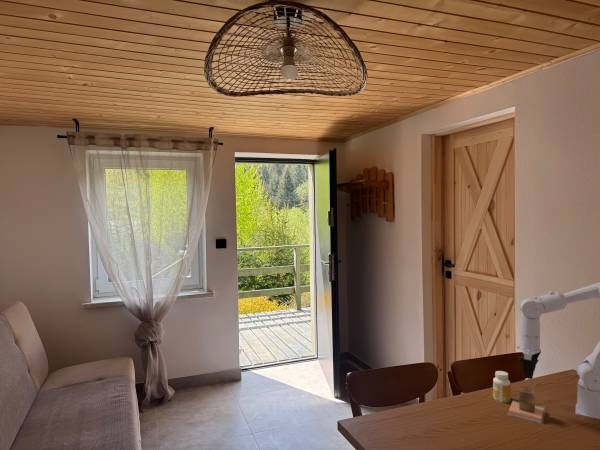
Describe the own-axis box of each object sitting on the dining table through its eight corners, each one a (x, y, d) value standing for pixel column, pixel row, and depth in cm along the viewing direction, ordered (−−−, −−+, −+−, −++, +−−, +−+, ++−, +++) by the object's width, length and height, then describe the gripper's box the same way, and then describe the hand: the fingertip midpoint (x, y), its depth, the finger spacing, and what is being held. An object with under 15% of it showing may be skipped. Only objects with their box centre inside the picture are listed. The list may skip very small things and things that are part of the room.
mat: (546, 408, 135) (546, 407, 135) (543, 426, 125) (543, 424, 125) (512, 401, 141) (512, 399, 141) (506, 416, 130) (506, 415, 130)
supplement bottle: (510, 399, 142) (511, 371, 142) (509, 405, 138) (509, 377, 138) (493, 395, 145) (494, 368, 145) (491, 401, 141) (492, 374, 140)
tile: (543, 407, 132) (541, 418, 125) (543, 412, 132) (541, 422, 125) (512, 400, 137) (509, 410, 131) (512, 404, 137) (508, 414, 131)
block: (534, 408, 132) (535, 389, 132) (533, 413, 129) (533, 394, 128) (520, 404, 134) (521, 386, 134) (519, 409, 131) (519, 391, 131)
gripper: (519, 327, 146) (519, 364, 146) (513, 338, 134) (513, 378, 135) (542, 330, 142) (542, 369, 142) (538, 342, 130) (538, 383, 131)
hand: (529, 374), depth 138 cm, fingers open, 7 cm apart
